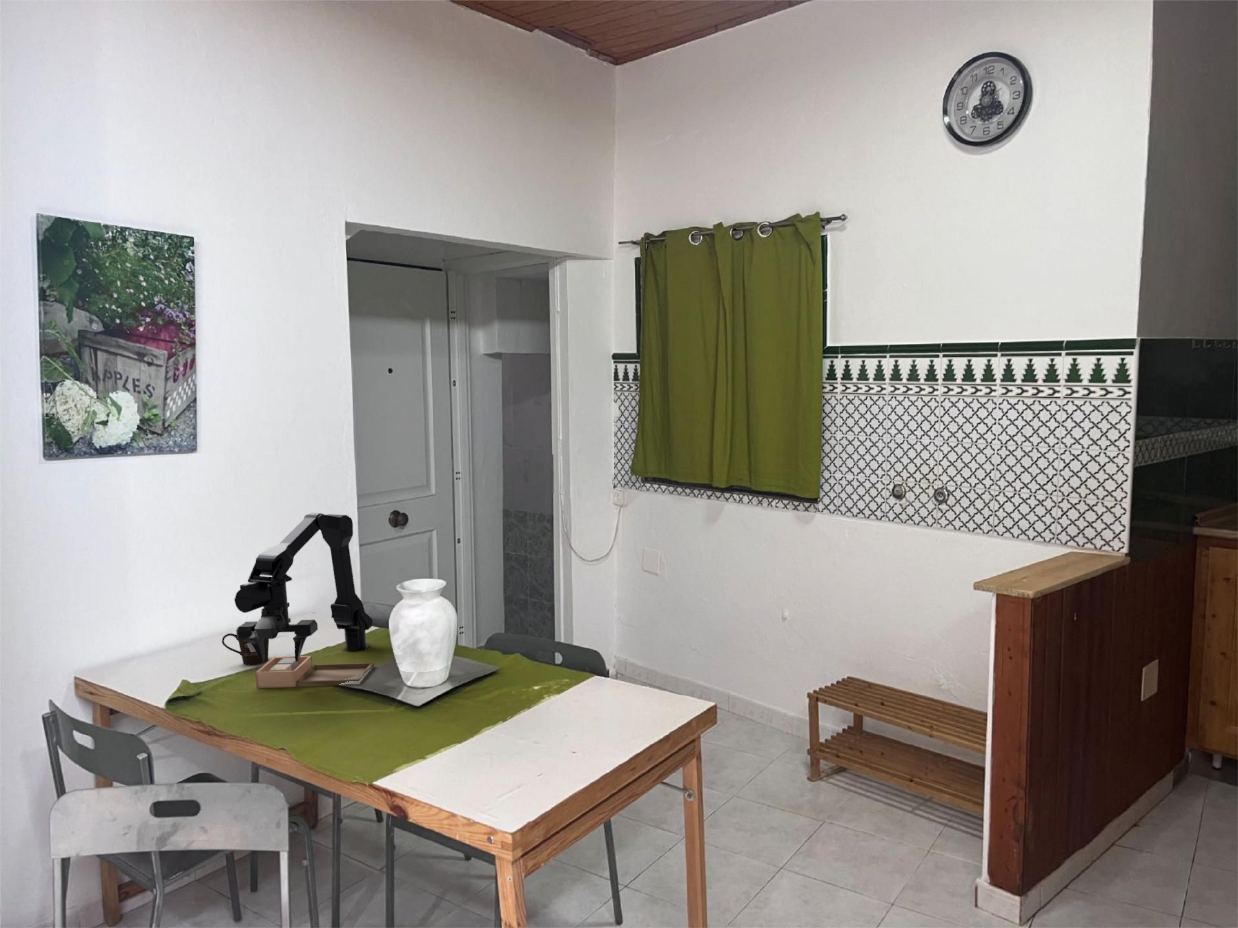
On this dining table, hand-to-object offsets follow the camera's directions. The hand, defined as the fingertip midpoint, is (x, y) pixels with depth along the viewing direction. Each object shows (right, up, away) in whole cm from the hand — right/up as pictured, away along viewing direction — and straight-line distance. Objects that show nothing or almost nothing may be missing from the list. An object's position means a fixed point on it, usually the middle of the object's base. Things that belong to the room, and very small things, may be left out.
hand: (280, 661), depth 229 cm
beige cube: (0, -5, +1) cm, 5 cm away
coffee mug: (-16, -5, +20) cm, 26 cm away
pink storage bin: (0, -6, +3) cm, 6 cm away
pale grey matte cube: (0, -5, +5) cm, 7 cm away
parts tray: (+13, -5, +3) cm, 15 cm away
